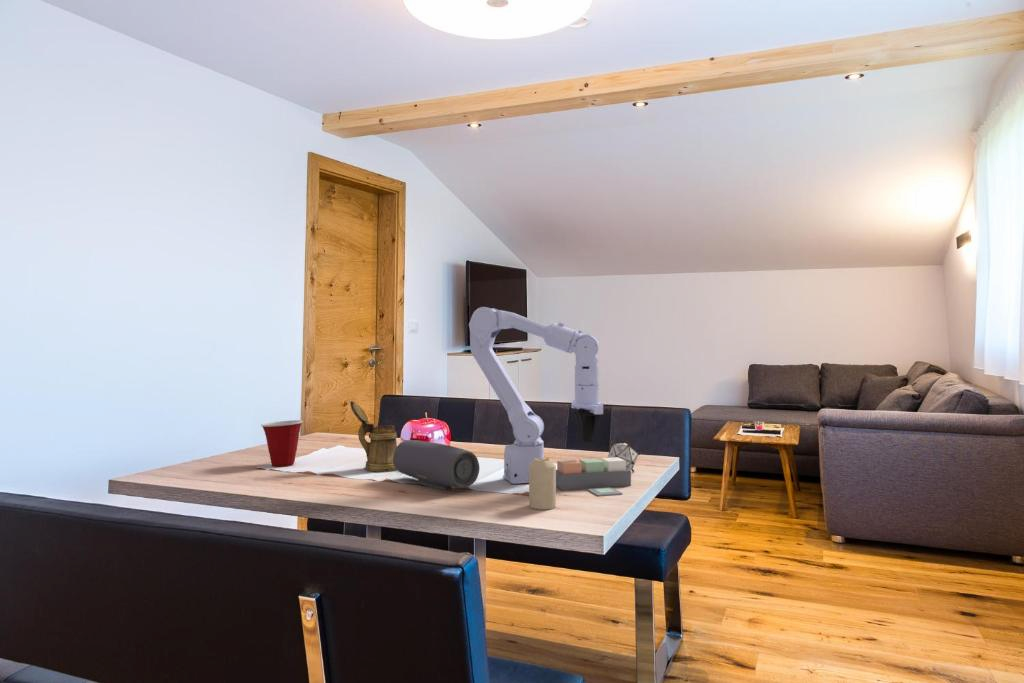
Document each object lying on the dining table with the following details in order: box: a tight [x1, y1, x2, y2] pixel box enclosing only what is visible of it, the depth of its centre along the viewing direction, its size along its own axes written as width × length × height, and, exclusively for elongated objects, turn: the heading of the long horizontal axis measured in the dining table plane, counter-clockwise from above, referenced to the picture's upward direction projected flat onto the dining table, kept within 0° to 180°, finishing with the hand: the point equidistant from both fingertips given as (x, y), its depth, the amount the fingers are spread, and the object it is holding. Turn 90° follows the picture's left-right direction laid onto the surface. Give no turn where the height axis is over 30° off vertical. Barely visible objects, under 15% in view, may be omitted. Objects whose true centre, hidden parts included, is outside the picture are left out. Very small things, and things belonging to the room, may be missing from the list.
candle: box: [528, 457, 557, 511], centre depth 139 cm, size 6×6×10 cm
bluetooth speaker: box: [393, 439, 480, 490], centre depth 159 cm, size 23×9×10 cm, turn 44°
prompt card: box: [586, 487, 623, 497], centre depth 151 cm, size 6×6×1 cm
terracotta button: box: [556, 459, 582, 474], centre depth 157 cm, size 4×4×3 cm
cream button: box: [600, 457, 626, 472], centre depth 160 cm, size 4×4×3 cm
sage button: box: [578, 457, 604, 473], centre depth 158 cm, size 4×4×3 cm
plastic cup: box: [260, 419, 304, 468], centre depth 183 cm, size 11×11×12 cm
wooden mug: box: [349, 400, 398, 473], centre depth 178 cm, size 9×14×18 cm, turn 84°
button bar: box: [556, 469, 632, 491], centre depth 158 cm, size 17×6×4 cm, turn 106°
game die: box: [606, 439, 642, 473], centre depth 173 cm, size 9×8×10 cm
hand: (586, 441), depth 161 cm, fingers closed
